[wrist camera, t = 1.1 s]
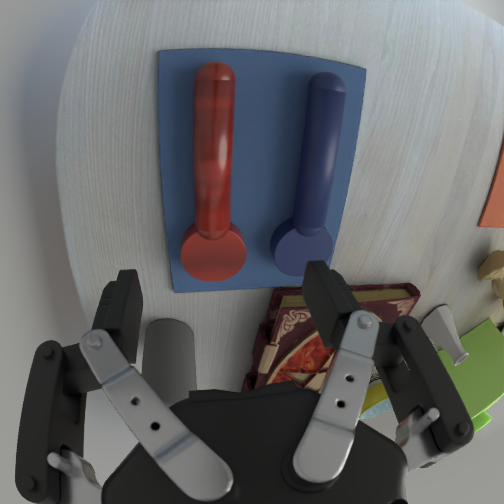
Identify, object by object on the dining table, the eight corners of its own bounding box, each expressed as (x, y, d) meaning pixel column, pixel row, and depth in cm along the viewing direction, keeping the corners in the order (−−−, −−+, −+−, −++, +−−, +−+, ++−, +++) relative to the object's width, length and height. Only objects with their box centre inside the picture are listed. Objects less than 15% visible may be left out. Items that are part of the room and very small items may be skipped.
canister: (489, 317, 51) (533, 382, 32) (467, 357, 63) (499, 412, 45) (416, 364, 52) (457, 446, 33) (403, 396, 64) (432, 460, 46)
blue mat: (159, 51, 15) (158, 50, 15) (364, 69, 18) (366, 69, 18) (174, 290, 28) (174, 293, 28) (324, 280, 31) (325, 282, 30)
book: (339, 388, 50) (348, 408, 46) (235, 404, 45) (240, 428, 41) (410, 280, 35) (430, 304, 31) (266, 286, 29) (279, 321, 25)
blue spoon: (286, 66, 17) (298, 65, 15) (353, 78, 18) (371, 80, 16) (267, 267, 28) (273, 286, 25) (320, 263, 29) (330, 281, 26)
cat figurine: (517, 256, 28) (530, 292, 31) (500, 230, 33) (517, 267, 36) (480, 285, 33) (498, 316, 36) (467, 257, 39) (488, 289, 41)
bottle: (162, 310, 29) (158, 444, 17) (203, 332, 32) (216, 454, 20) (136, 336, 31) (128, 454, 19) (176, 354, 34) (180, 465, 22)
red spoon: (175, 63, 16) (171, 60, 14) (254, 63, 17) (261, 61, 15) (183, 271, 26) (183, 291, 24) (242, 268, 27) (246, 287, 25)
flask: (411, 332, 42) (437, 376, 34) (436, 302, 39) (468, 345, 31) (431, 332, 45) (456, 371, 37) (454, 304, 41) (483, 343, 33)
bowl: (385, 389, 56) (395, 409, 51) (343, 402, 55) (352, 425, 50) (404, 363, 50) (417, 386, 45) (359, 378, 48) (370, 404, 43)
